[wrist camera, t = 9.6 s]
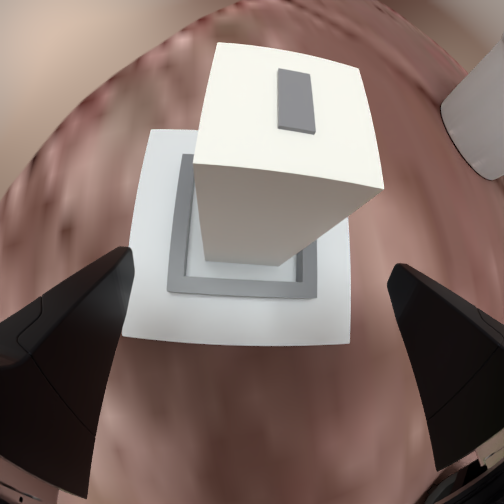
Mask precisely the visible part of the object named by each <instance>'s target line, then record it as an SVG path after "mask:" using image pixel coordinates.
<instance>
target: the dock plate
mask: <svg viewBox="0 0 504 504" xmlns="http://www.w3.org/2000/svg"><path fill="white" fill-rule="evenodd" d="M197 136H198V130H173V129H151V132H150V136H149V140H148V144H147V148H146V153H145V157H144V161H143V166H142V171H141V175H140V180H139V185H138V191H137V196H136V202H135V207H134V214H133V220H132V227H131V233H130V241H129V247H130V248H131V249H132V252H133V260H134V267H135V276H134V280H133V285H132V290H131V294H130V299H129V304H128V309H127V314H126V318H125V321H124V324H123V328H122V336H125V337H133V338H142V339H151V340H161V341H171V342H183V343H197V344H215V345H240V346H308V345H333V344H350V317H351V273H350V243H349V225H348V217H347V218H345V219H344V220H343V221H341V222H340V223H338V224H337V225H336V226H334V227H333V228H332V229H330V230H329V231H327V232H326V233H325V234H323V235H322V236H321V237H319V238H318V239H316V240H315V241H314V242H312V243H311V244H309V245H308V246H307V247H305V248H304V249H302V250H301V251H300V252H298V253H297V254H295V255H294V256H293V257H291V258H290V259H288V260H287V261H286V262H284V263H283V264H281V265H280V266H265V265H251V264H238V263H224V262H211V261H205V256H204V249H203V242H202V235H201V228H200V220H199V212H198V204H197V196H196V188H195V179H194V170H193V159H194V153H195V147H196V141H197Z"/></svg>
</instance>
